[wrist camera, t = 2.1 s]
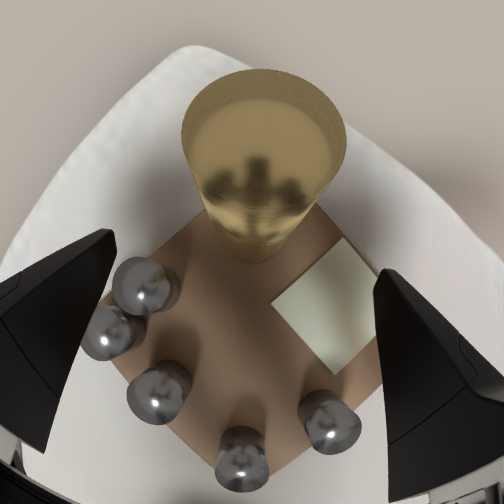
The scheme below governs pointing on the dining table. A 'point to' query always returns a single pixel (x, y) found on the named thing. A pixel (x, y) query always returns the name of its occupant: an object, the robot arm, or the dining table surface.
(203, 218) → the walnut board
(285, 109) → the disc
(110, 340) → the spacer posts
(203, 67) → the dining table surface
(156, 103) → the dining table surface
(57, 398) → the robot arm
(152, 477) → the dining table surface
